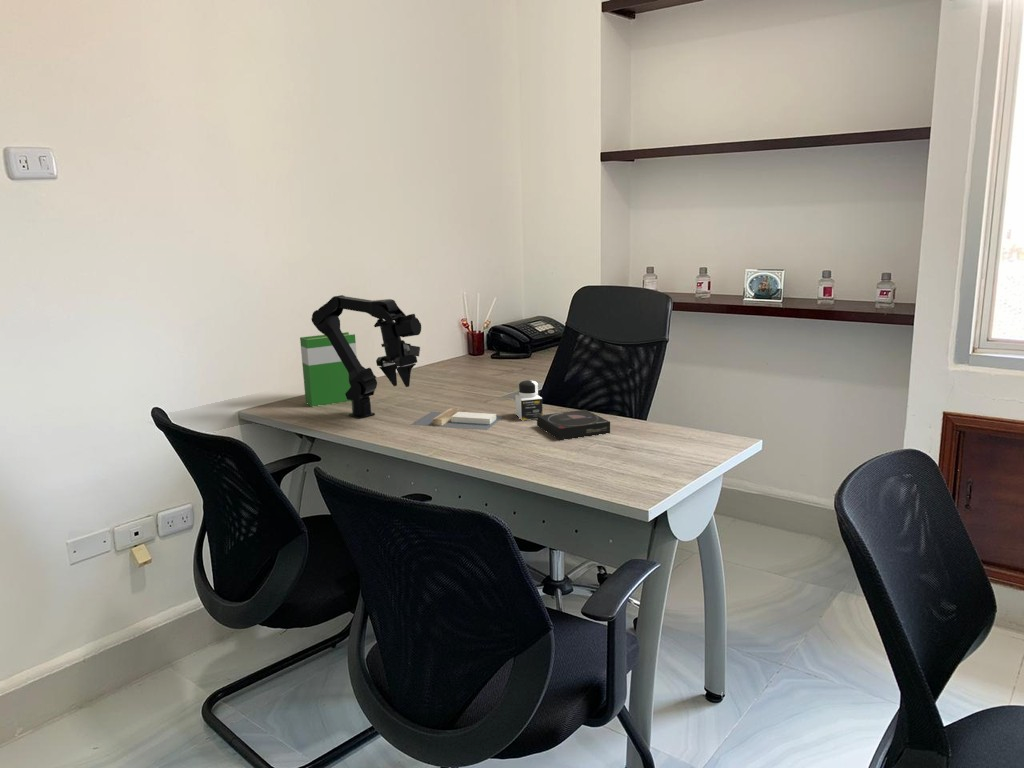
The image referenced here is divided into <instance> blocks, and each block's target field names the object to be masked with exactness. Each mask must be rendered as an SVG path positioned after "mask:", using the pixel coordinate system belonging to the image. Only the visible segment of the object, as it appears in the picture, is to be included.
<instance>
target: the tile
mask: <svg viewBox="0 0 1024 768" xmlns="http://www.w3.org/2000/svg"><path fill="white" fill-rule="evenodd" d="M496 416H497V413H484V412H483V413H481V412H467V411H466V412H464V411H459V412H457V413H456V414H454V415H453V416H451V423H464V424H480V425H491V424H492V423H493V422H495V421H496Z"/></svg>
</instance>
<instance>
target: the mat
mask: <svg viewBox="0 0 1024 768" xmlns="http://www.w3.org/2000/svg"><path fill="white" fill-rule="evenodd" d="M442 413H443V412H440V411H439V412H438V411H430V412H429V413H427V414H425V415H424V416H422V417H420V418H418V419H417V420H415V421H414V422H411V423H410V425H411V426H412V425H413V426H423V427H424V426H425V427H439V428H453V429H468V430H482V431H487V430H489V429H490V428H492V427H493V426H494V425H495V424H497V423H498V422H499V421H501V420H502V419H503V418H505V416H503V415H502V416H501V415H496V421H495V422H493V423H492V424H491V425H480V424H464V423H451V420H450V421H448V422H447V423H445V424H444V425H442V426H438V425H433V419H434V418H435V417H437V416H438V415H440V414H442Z"/></svg>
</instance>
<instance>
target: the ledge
mask: <svg viewBox="0 0 1024 768" xmlns="http://www.w3.org/2000/svg"><path fill="white" fill-rule="evenodd" d="M457 412H460V408H455V407H450V408H449V409H446V410H445V411H443V412H442V414H440V415H438V416H437V417H435V418H434V419H433V425H438V426H442V425H444V424H445V423H447V422H448V421H450V420H451V416H453V415H454V414H456V413H457Z"/></svg>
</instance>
